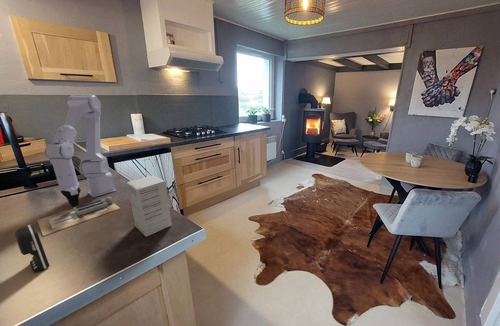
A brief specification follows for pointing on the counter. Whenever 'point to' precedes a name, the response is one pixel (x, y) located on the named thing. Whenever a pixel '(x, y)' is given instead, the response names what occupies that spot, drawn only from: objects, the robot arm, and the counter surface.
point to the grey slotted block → (93, 206)
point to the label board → (71, 219)
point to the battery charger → (32, 247)
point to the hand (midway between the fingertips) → (75, 205)
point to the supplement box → (149, 204)
